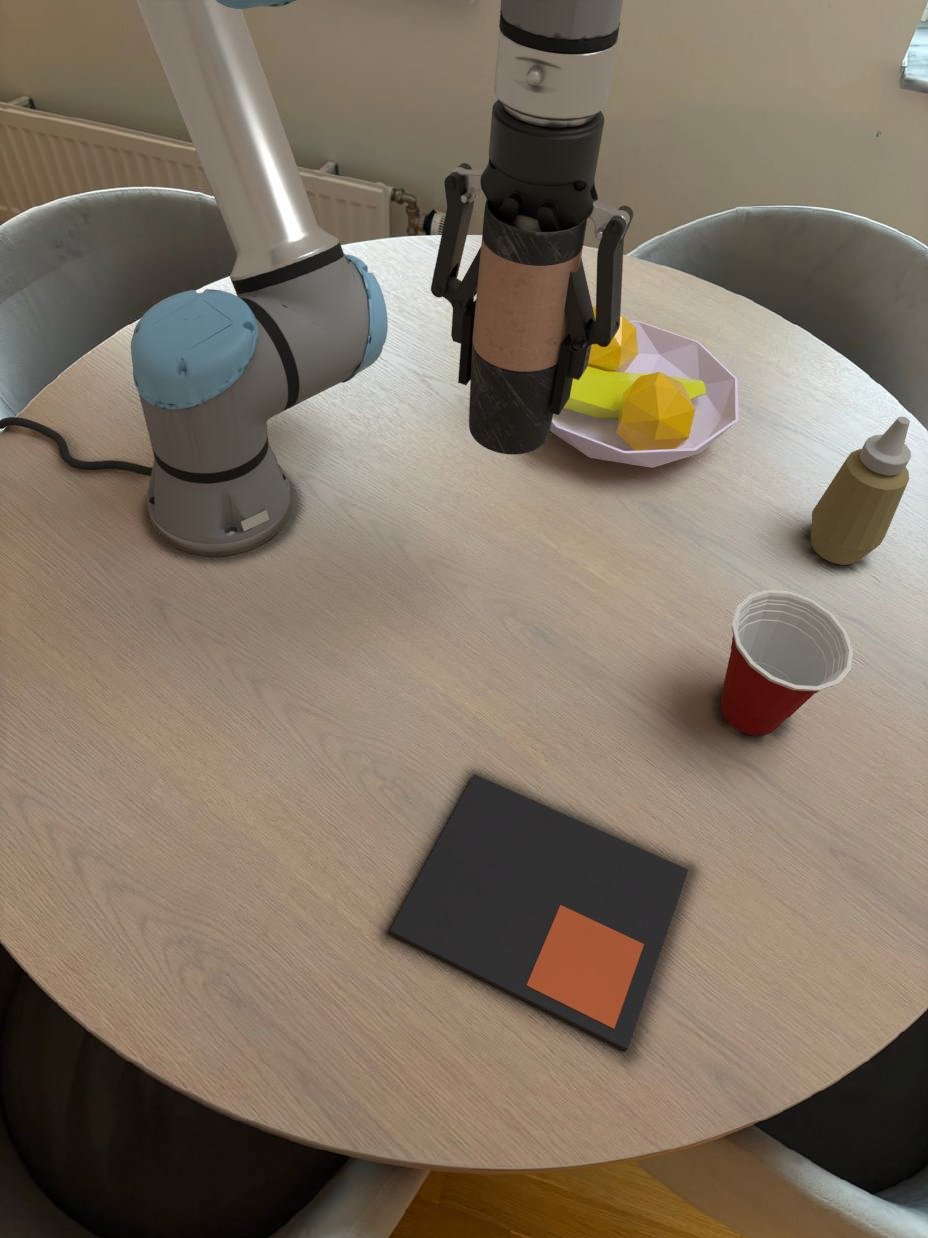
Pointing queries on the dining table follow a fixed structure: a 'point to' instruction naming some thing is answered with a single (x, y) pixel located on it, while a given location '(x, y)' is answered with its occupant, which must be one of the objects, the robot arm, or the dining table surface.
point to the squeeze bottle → (862, 498)
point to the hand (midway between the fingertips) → (513, 389)
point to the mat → (544, 909)
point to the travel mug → (519, 330)
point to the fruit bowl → (648, 399)
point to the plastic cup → (780, 659)
